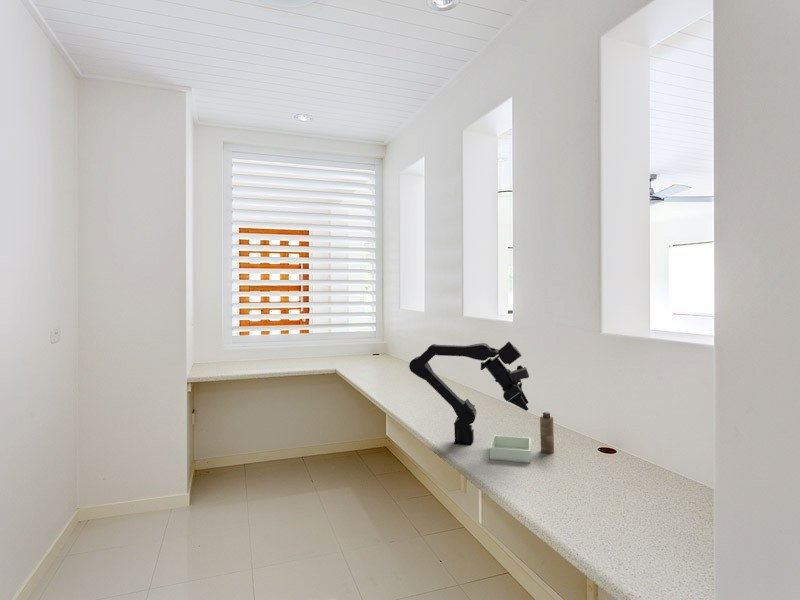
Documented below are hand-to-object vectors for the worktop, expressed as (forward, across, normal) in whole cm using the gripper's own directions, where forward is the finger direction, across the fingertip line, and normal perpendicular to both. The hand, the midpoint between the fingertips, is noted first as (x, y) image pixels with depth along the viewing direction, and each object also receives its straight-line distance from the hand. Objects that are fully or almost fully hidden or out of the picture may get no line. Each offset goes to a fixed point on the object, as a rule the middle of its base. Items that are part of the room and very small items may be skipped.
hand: (527, 406), depth 165 cm
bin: (+8, -10, +13) cm, 18 cm away
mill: (+15, -5, +4) cm, 16 cm away
